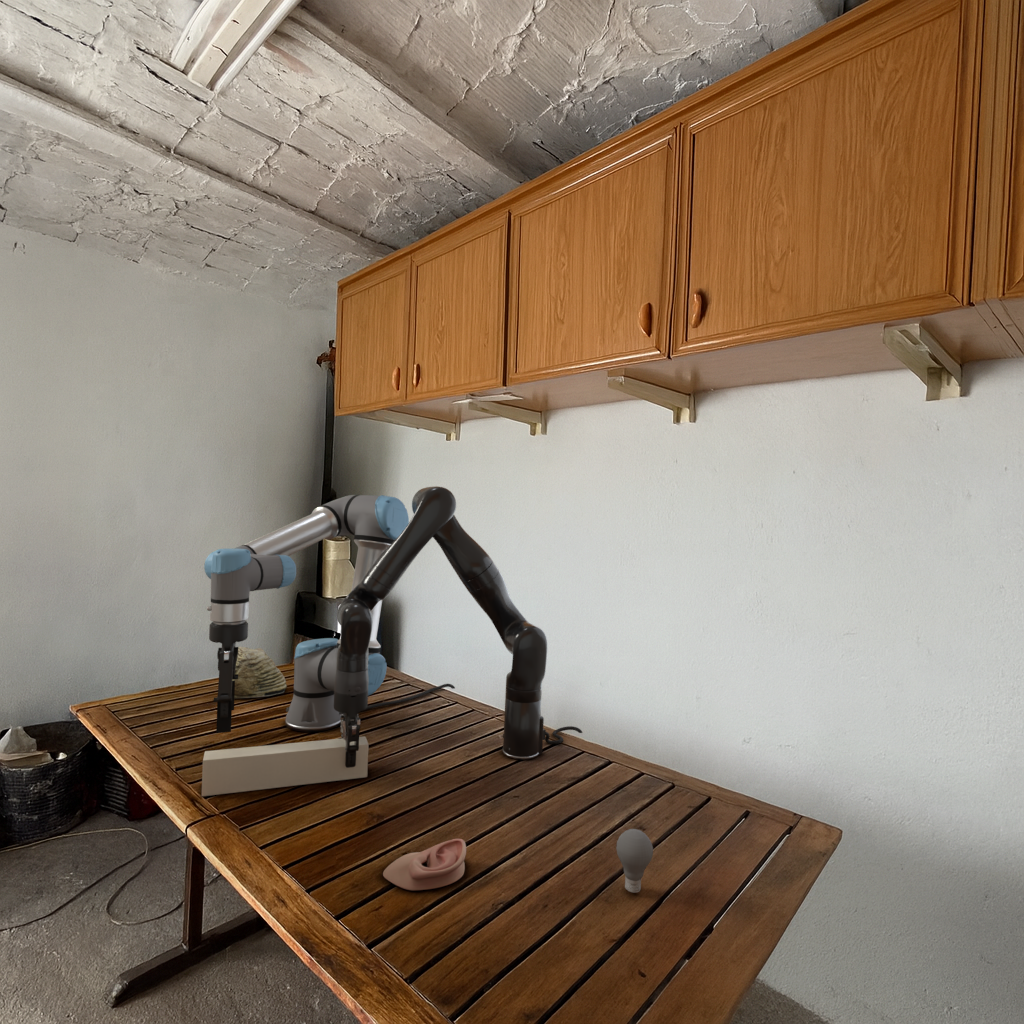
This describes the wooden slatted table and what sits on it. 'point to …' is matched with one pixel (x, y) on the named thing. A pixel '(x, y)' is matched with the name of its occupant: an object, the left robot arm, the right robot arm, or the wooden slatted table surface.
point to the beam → (280, 766)
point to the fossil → (257, 674)
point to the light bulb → (634, 857)
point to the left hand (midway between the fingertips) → (225, 720)
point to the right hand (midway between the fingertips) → (348, 760)
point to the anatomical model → (429, 867)
